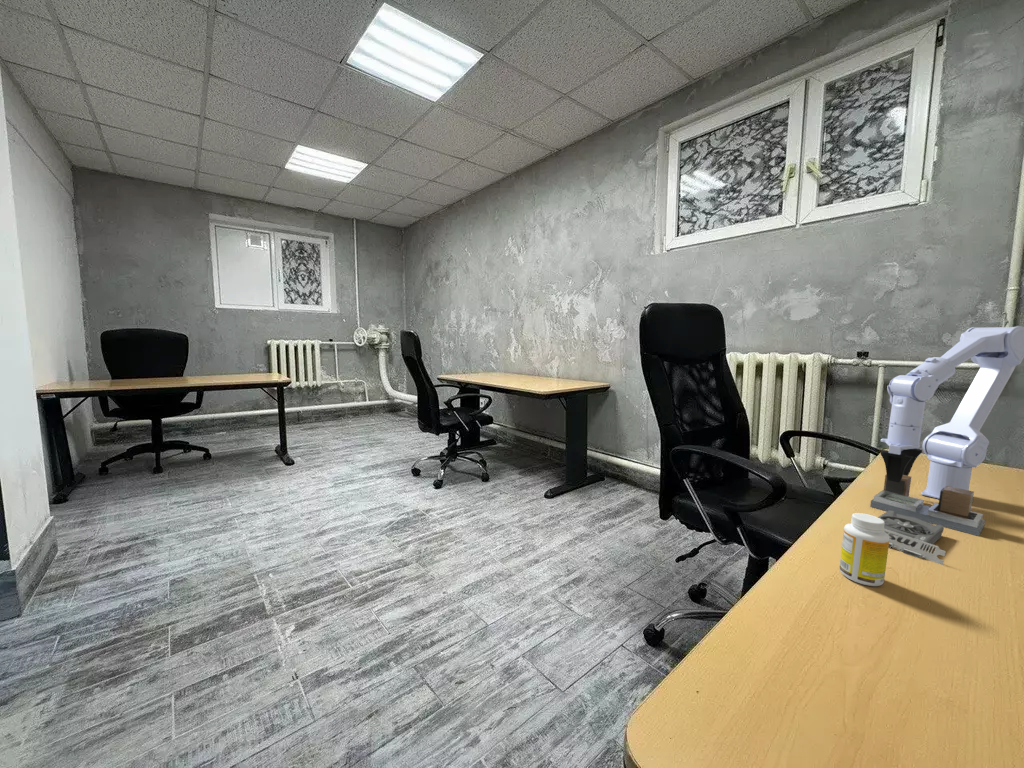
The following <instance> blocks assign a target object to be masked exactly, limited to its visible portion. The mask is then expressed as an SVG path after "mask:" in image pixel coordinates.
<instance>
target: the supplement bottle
mask: <svg viewBox="0 0 1024 768" xmlns="http://www.w3.org/2000/svg"><path fill="white" fill-rule="evenodd" d="M878 517H879V516H875V515H872V514H868V513H862V512H855V513H854V512H853V513H852V515H851V520H850V523H846V524H845V525H844V527H843V534H842V543H841V551H840V561H839V571H840V573H841V574H842V575H843V576H844V577H845V578H847V579H848V580H851V581H853V582H855V583H858V584H861V585H864V586H869V587H878V586H879V587H880V586H882V585H883V584H884V582H885V576H886V569H887V563H888V562H887V561H888V554H889V548H888V547H889V536H888V534H887V533H886V532H884V524H885V522H884V521H883V520H882V519H880V518H878Z"/></svg>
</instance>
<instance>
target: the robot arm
mask: <svg viewBox="0 0 1024 768" xmlns="http://www.w3.org/2000/svg"><path fill="white" fill-rule="evenodd" d="M969 360H971V361H972V363H974V364H977V365H979V369H978V372H977V373H976V375H975V377H974V379H973V380H972V381H971V384H970V385H969V388H968V389H967V390H966V392H965V394H964V396H963V398H962V400H961V402H960V404H959V405H958V407H957V409H956V410H955V413H954V414H953V416H952V418H951V419H950V421H949V422H947V423H944V424H941V425H938V426H935V427H934V428H933V430H932V431H931V433H929V434H927V436H926V437H925V438H924V439H923V441H922V445H921V444H920V441H921V434H922V427H923V420H924V415H925V414H924V413H925V409H926V401H928V400H930V399H931V398H933V396H934V394H935V392H936V391H937V389H938V387H939V385H941V384H942V383H944V382H945V381H947V380H948V379H949V378H951V377H953V376H954V375H955V373H956V368H957V367H958V366H960V365H961V364H963V363H965V362H966V361H969ZM1023 360H1024V326H1022V325H1019V326H1018V325H1016V326H1007V327H1006V326H1001V327H1000V326H999V327H996V326H993V327H992V326H991V327H978V326H973V327H969V328H968V329H967V330H965V331H964V332H962V333H961V334H960V337H959V341H958V342H957V343H956V344H954V345H953V346H952V347H951V348H950V349H948V350H947V351H946V352H945V353H944V354H942V355H941V356H940V357H939V356H934V357H927V358H925V360H924V361H923V362H922V363H920V364H919V365H918V366H916V367H915V368H914V369H912V370H910V371H909V372H908V373H906V374H905V375H904V374H900V375H897V376H895V377H893V378H892V379H891V380H890V381H889V384H888V385H887V386H886V387H887V388H886V389H887V390H886V391H887V393H888V396H889V403H890V404H891V408H890V409H891V410H890V415H889V416H890V417H889V423H888V431H887V438H881V439H880V442H881V443H885V444H886V445H887V446H889V447H888V450H886V449H881V450H880V455H881V458H882V460H883V461H884V466H885V472H886V473H885V475H886V474H887V479H888V480H890V481H894V482H900V481H901V479H902V476H903V475H906V476H910V473H911V472H912V471H911V470H912V468H913V466H914V463H915V462H916V459H917V458H918V457H919V456H920V455H921V454H922V453H923V452H924V454H925V455H926V456H927V460H930V461H929V468H928V475H927V481H926V488H925V489H924V490H923V491H921V492H920V495H922V496H924V497H930V498H935V499H938V500H939V498H940V492H941V490H942V489H943V488H945V487H946V486H950V487H955V488H959V489H964V490H969V489H970V484H971V477H972V470H973V468H977V466H979V465H981V464H982V463H983V462H984V461H985V459H986V457H987V450H988V447H989V444H990V441H989V439H988V438H987V437H986V436H985V435H984V434H983V432H981V429H982V427H983V425H984V424H985V422H986V420H987V418H988V416H989V415H990V413H991V411H992V410H993V407H994V406H995V404H996V403H997V401H998V399H999V397H1000V396H1001V394H1002V392H1003V390H1004V389H1005V387H1006V385H1007V383H1008V381H1009V380H1010V378H1011V376H1012V374H1013V373H1014V371H1015V369H1016V366H1019V365H1021V363H1022V362H1023ZM921 446H922V449H920V448H921ZM969 491H970V490H969Z"/></svg>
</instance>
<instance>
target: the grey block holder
mask: <svg viewBox="0 0 1024 768" xmlns="http://www.w3.org/2000/svg"><path fill="white" fill-rule="evenodd" d="M974 494H975V491H972V490H964V489H959V488H955V487H950V486H946V487H945V488H943V489H942V490H941V492H940V498H939V499H938V502H934V503H933V504H932V505H931V506H929V505H925V504H924V501H925V499H921V498H918V497H913V496H905V495H901V494H897V493H893V492H888V491H884V489H882V490H881V491H880V492H878V493H877V494H874V496H873V499H871V500H870V506H869V507H870V508H872V509H873V508H874V509H877V510H880V511H883V512H887V511H889V510H890V511H894V512H895V513H896V514H900V515H904V516H909V517H913V518H917V519H920V520H922V521H925V522H928V523H930V524H933V525H942V526H943V527H944V528H948V529H951V530H955V531H959V532H962V533H965V534H969V535H974V536H976V537H980V535H981V533H982V532H983V529H984V528H985V523H986V520H985V519H983V517H984V514H982V513H980V512H976V511H972V507H973V500H974V496H975V495H974Z"/></svg>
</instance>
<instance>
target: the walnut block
mask: <svg viewBox="0 0 1024 768" xmlns="http://www.w3.org/2000/svg"><path fill="white" fill-rule="evenodd" d="M911 482H912V476H911V475H908V476H906V475H903V476H902V479H901V481H900V482H894V481H890V480H888V479H887V474H886V473H885V476H884V484H883V490H884V491H888V492H893V493H897V494H901V495H905V496H909V495H910V491H911V490H910V489H911ZM909 497H910V496H909Z"/></svg>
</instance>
